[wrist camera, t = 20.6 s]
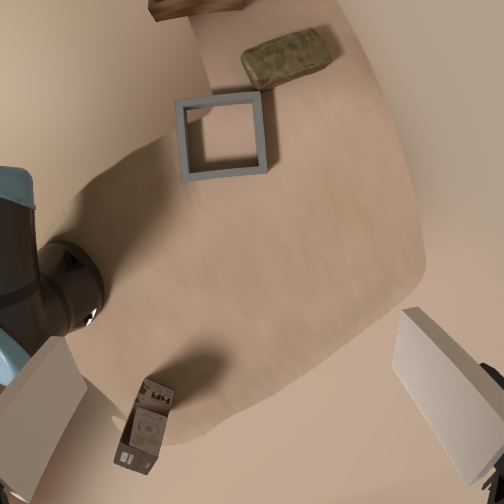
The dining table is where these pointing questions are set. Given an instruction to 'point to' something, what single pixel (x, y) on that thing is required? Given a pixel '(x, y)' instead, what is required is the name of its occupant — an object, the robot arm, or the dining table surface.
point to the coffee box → (144, 428)
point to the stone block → (285, 59)
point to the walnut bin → (189, 7)
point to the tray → (210, 102)
